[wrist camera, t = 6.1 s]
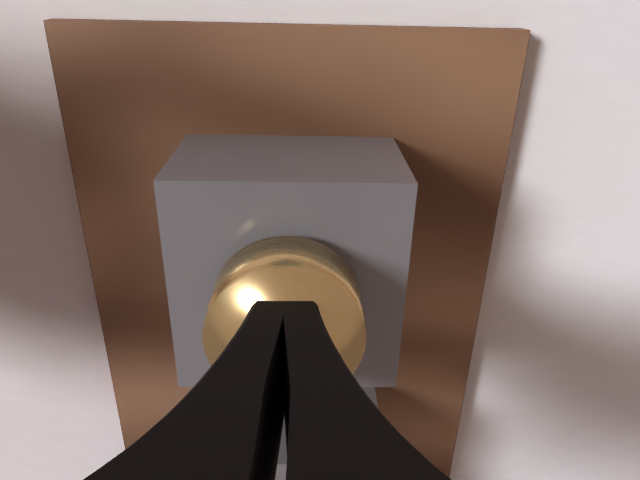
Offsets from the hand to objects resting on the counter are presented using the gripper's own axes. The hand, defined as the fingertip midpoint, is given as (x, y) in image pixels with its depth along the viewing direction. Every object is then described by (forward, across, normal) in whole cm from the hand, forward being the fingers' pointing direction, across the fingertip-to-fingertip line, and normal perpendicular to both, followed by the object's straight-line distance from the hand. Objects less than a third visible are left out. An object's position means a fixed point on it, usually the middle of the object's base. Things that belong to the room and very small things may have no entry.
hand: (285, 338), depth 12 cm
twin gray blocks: (+6, 0, +4) cm, 8 cm away
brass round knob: (+5, 0, 0) cm, 5 cm away
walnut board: (+6, 0, +4) cm, 8 cm away
